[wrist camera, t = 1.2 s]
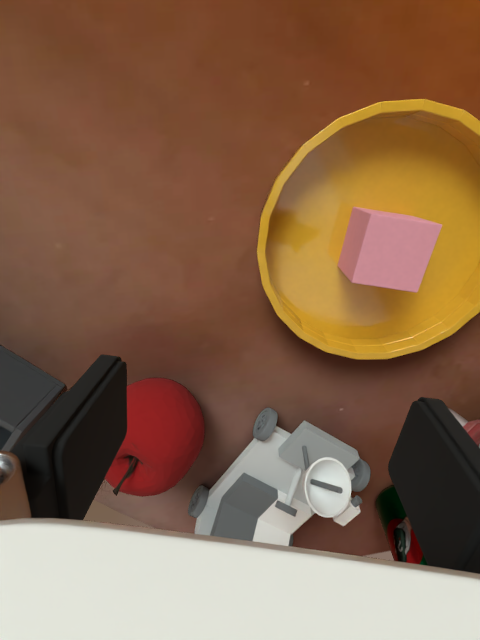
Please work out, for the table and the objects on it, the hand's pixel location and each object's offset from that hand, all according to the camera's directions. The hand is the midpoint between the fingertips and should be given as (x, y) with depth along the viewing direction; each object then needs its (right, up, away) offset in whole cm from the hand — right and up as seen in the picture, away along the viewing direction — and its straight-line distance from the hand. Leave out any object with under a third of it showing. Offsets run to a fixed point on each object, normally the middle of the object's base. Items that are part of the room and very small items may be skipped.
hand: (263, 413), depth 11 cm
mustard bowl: (+9, +9, +15) cm, 20 cm away
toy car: (+4, -12, +25) cm, 28 cm away
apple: (-8, -5, +22) cm, 24 cm away
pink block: (+9, +9, +14) cm, 19 cm away
